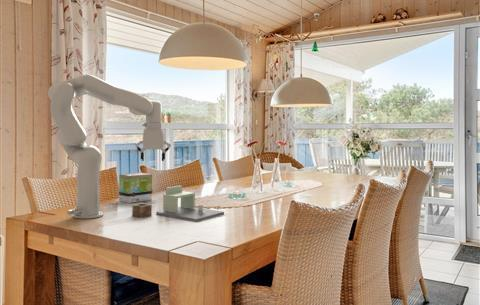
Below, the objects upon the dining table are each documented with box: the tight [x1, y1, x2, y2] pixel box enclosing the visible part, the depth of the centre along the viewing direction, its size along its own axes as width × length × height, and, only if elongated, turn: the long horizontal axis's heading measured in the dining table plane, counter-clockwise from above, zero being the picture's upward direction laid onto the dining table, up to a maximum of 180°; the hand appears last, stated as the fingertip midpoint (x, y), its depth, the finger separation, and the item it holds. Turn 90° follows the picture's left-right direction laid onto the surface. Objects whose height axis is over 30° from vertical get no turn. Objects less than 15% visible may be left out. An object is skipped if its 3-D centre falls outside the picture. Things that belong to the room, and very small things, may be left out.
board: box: [155, 203, 225, 223], centre depth 191 cm, size 20×24×5 cm
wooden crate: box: [131, 202, 153, 219], centre depth 186 cm, size 6×6×5 cm
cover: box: [162, 185, 196, 213], centre depth 195 cm, size 13×8×10 cm, turn 146°
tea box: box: [118, 172, 153, 204], centre depth 224 cm, size 15×10×15 cm
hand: (152, 160), depth 203 cm, fingers open, 9 cm apart
